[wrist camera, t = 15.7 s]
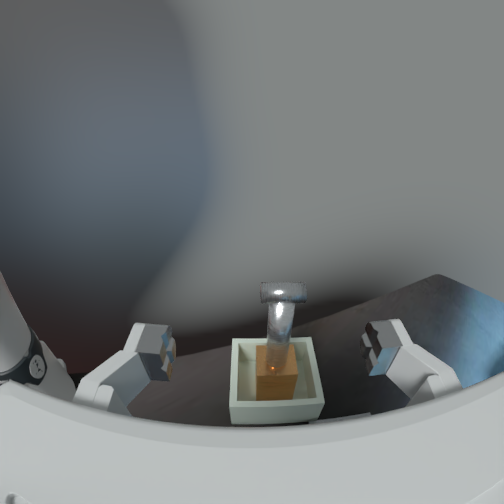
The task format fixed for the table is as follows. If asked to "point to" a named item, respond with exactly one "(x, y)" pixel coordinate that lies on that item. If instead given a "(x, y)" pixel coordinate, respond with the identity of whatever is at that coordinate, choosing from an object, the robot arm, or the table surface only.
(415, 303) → the table surface
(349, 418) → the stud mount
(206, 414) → the table surface
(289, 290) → the strut
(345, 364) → the table surface
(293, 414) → the bin
